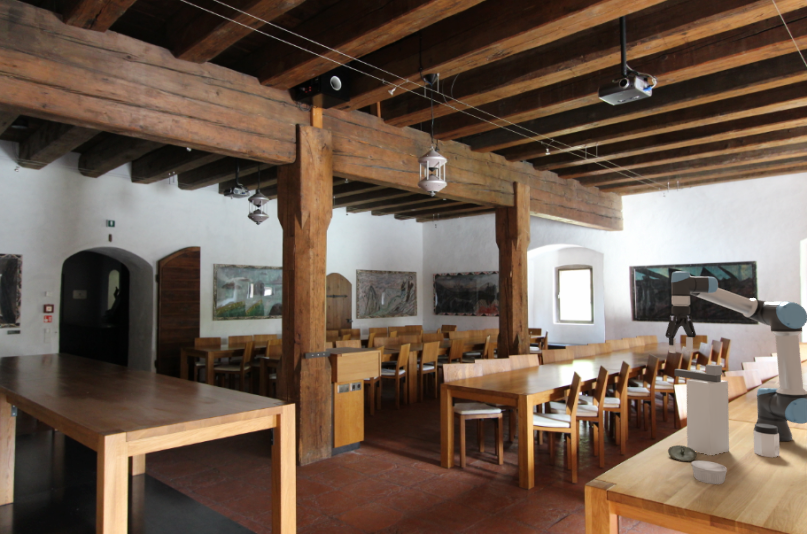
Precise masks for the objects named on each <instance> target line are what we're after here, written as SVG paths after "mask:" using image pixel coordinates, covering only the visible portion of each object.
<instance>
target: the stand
mask: <svg viewBox="0 0 807 534" xmlns="http://www.w3.org/2000/svg"><path fill="white" fill-rule="evenodd" d="M729 413H730V412H729V381H728V380H722V379H721V382H717V383H716V382H710V381H703V380H697V379H690V378H689V379H686V447H689V448H691V449H693V450H694V451H697V452H696V453H698V452H700V453H699V454H701V453H704V454H703V455H705V454H707V455H706V456H709V455H713V456H716V455H715V454H717V455H720V454H719V453H721V454H724V453H723V452H725V453H728V451H729V452H730V435H729V434H730V432H729V431H730V427H729V425H730V423H729V421H730V419H729V417H730V415H729Z"/></svg>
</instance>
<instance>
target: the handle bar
mask: <svg viewBox="0 0 807 534" xmlns="http://www.w3.org/2000/svg"><path fill="white" fill-rule="evenodd" d="M721 376H723V365H720V364H714V363H711V364H706V365H705V372H702V371H696V370H695V371H694V370H687V369H680V368H675V369H674V377H677V378H685V379H689V380H690V379H697V380H703V381H710V382H716V383H717V382H721V380H722V377H721Z"/></svg>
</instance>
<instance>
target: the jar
mask: <svg viewBox="0 0 807 534" xmlns="http://www.w3.org/2000/svg"><path fill="white" fill-rule="evenodd" d="M754 427H755V431H754V430H753V453H754V454H756V455H758V456H762V457H767V458H773V457H775V458H777V456H778V457H780V441H779V433H778V427H776V426H774V425H769V424H756V423H755V424H754Z"/></svg>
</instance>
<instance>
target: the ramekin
mask: <svg viewBox="0 0 807 534" xmlns="http://www.w3.org/2000/svg"><path fill="white" fill-rule="evenodd" d="M691 467H692V473H693V476H694V478H695V480H697V481H699V482H702V483H705V484H710V485H722V484H723V483H724V482H725V480H726V476H727V475H726V474H727V472H728V468H727V467H726V466H725V465H723V464H720V463H718V462H713V461H709V460H692V461H691Z"/></svg>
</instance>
